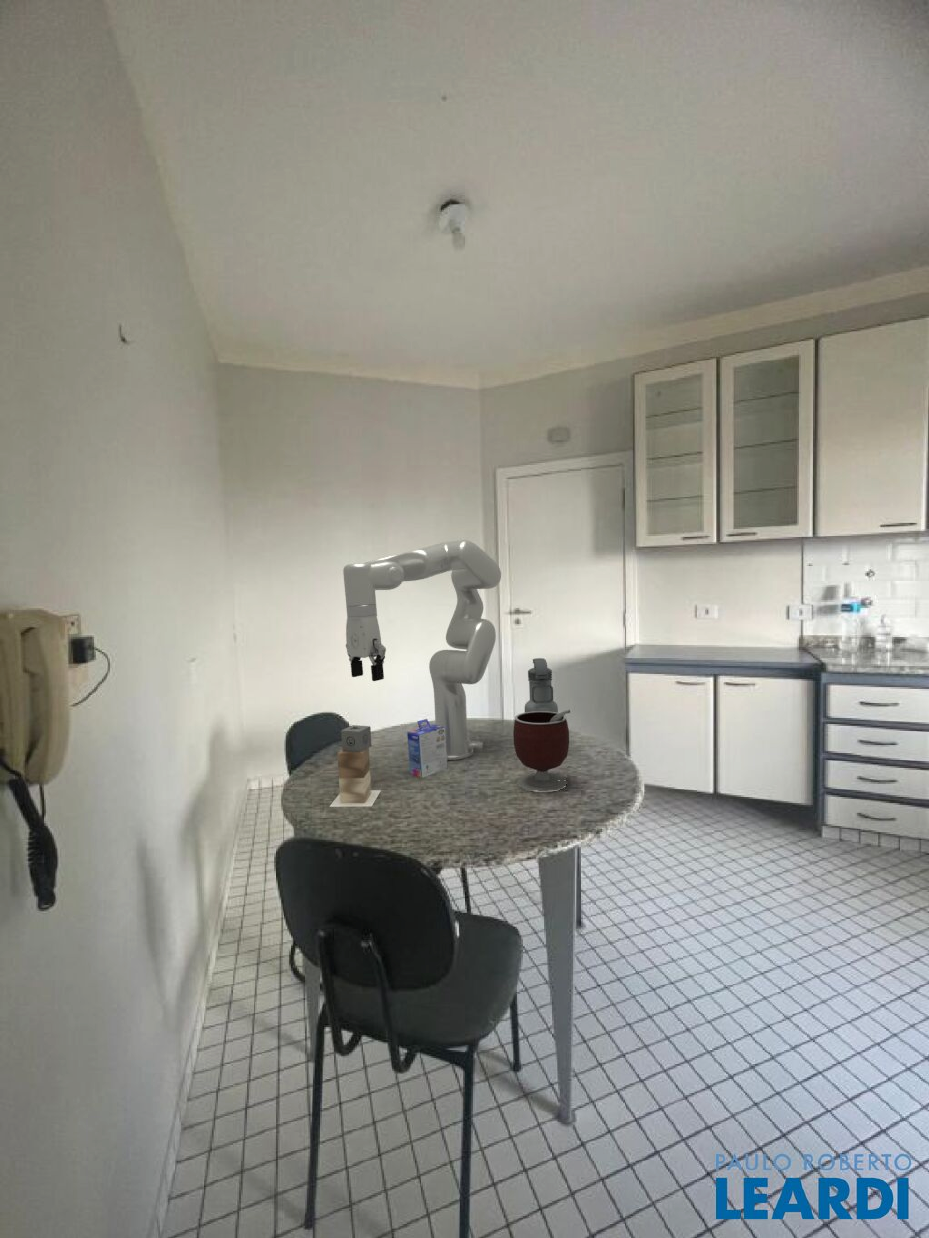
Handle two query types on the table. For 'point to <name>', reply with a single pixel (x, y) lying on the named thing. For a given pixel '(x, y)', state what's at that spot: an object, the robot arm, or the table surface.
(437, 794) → the table surface
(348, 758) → the walnut block
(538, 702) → the water bottle
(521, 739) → the mate gourd
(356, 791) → the beech block
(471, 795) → the table surface
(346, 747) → the grey marked cube
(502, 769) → the table surface
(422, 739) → the ink cartridge box
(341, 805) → the stone coaster
